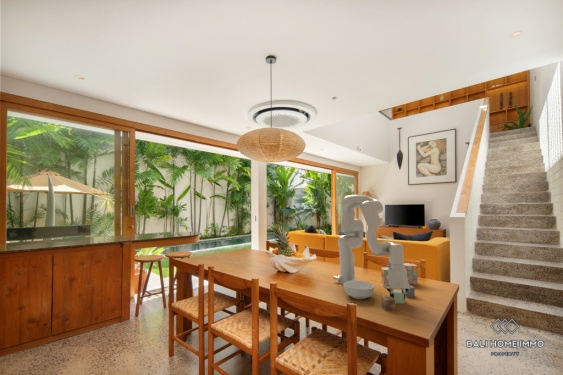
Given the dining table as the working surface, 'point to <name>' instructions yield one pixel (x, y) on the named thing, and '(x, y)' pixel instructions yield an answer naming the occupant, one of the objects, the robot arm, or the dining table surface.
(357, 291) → the cereal bowl
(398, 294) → the sage green cube
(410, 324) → the dining table surface
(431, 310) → the dining table surface
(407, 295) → the gray cube
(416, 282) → the stack of blocks
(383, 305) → the walnut cube
